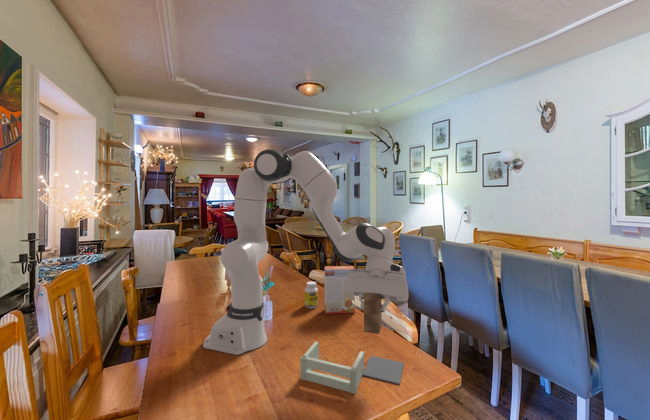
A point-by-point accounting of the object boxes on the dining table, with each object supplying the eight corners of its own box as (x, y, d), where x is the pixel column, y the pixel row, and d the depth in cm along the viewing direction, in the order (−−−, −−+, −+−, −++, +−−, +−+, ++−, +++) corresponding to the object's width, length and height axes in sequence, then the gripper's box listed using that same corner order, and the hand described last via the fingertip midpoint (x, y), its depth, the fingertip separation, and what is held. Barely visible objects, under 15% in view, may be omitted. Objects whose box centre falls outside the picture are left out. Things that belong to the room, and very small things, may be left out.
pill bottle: (306, 309, 136) (306, 285, 136) (303, 304, 143) (303, 281, 142) (319, 308, 138) (319, 284, 137) (316, 303, 144) (316, 280, 144)
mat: (362, 375, 87) (362, 374, 87) (370, 356, 97) (370, 355, 97) (399, 384, 83) (399, 383, 83) (404, 364, 93) (404, 362, 93)
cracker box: (353, 308, 138) (353, 265, 137) (355, 313, 132) (355, 268, 131) (324, 308, 138) (324, 265, 136) (324, 313, 131) (324, 268, 130)
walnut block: (364, 331, 88) (363, 296, 87) (367, 325, 92) (367, 291, 91) (378, 334, 86) (378, 298, 85) (381, 327, 90) (381, 293, 89)
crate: (300, 379, 85) (300, 357, 85) (314, 360, 95) (314, 341, 94) (355, 394, 79) (355, 371, 79) (364, 372, 89) (364, 352, 88)
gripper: (346, 263, 98) (337, 301, 90) (409, 268, 90) (405, 310, 82) (350, 272, 102) (342, 310, 94) (410, 278, 95) (407, 319, 86)
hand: (372, 310), depth 88 cm, fingers closed on walnut block, 4 cm apart
